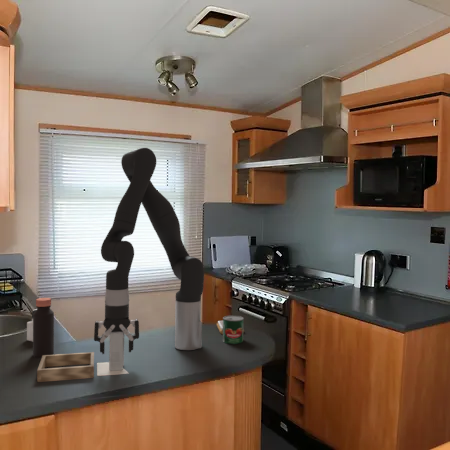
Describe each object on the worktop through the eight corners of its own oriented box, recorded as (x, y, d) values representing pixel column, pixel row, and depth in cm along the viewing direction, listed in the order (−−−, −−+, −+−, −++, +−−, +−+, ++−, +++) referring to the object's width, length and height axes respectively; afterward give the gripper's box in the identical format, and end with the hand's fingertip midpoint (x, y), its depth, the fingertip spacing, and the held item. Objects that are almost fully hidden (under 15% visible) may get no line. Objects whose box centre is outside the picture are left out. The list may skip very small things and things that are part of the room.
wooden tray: (93, 363, 153) (94, 352, 153) (93, 379, 140) (93, 366, 140) (42, 367, 149) (42, 355, 149) (37, 383, 136) (37, 370, 135)
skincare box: (110, 364, 151) (111, 328, 151) (124, 364, 152) (124, 328, 151) (108, 371, 145) (109, 333, 145) (122, 370, 146) (123, 333, 145)
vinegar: (54, 352, 164) (55, 296, 164) (52, 358, 158) (52, 300, 157) (34, 353, 163) (34, 297, 162) (31, 359, 156) (31, 301, 155)
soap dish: (215, 331, 196) (216, 320, 196) (238, 331, 198) (238, 319, 198) (220, 340, 184) (220, 327, 184) (244, 339, 186) (244, 327, 185)
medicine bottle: (54, 339, 181) (54, 308, 180) (38, 343, 175) (38, 312, 174) (42, 336, 184) (42, 306, 184) (26, 340, 178) (26, 309, 178)
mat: (133, 362, 156) (133, 360, 156) (136, 374, 144) (136, 372, 144) (97, 364, 153) (97, 362, 153) (97, 377, 141) (97, 375, 141)
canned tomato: (236, 342, 181) (236, 314, 181) (247, 347, 175) (247, 318, 174) (218, 345, 177) (219, 316, 177) (229, 350, 170) (229, 321, 170)
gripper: (138, 299, 153) (137, 347, 154) (94, 300, 149) (93, 350, 150) (140, 304, 146) (140, 354, 147) (93, 305, 142) (93, 357, 143)
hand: (116, 352), depth 148 cm, fingers open, 8 cm apart
